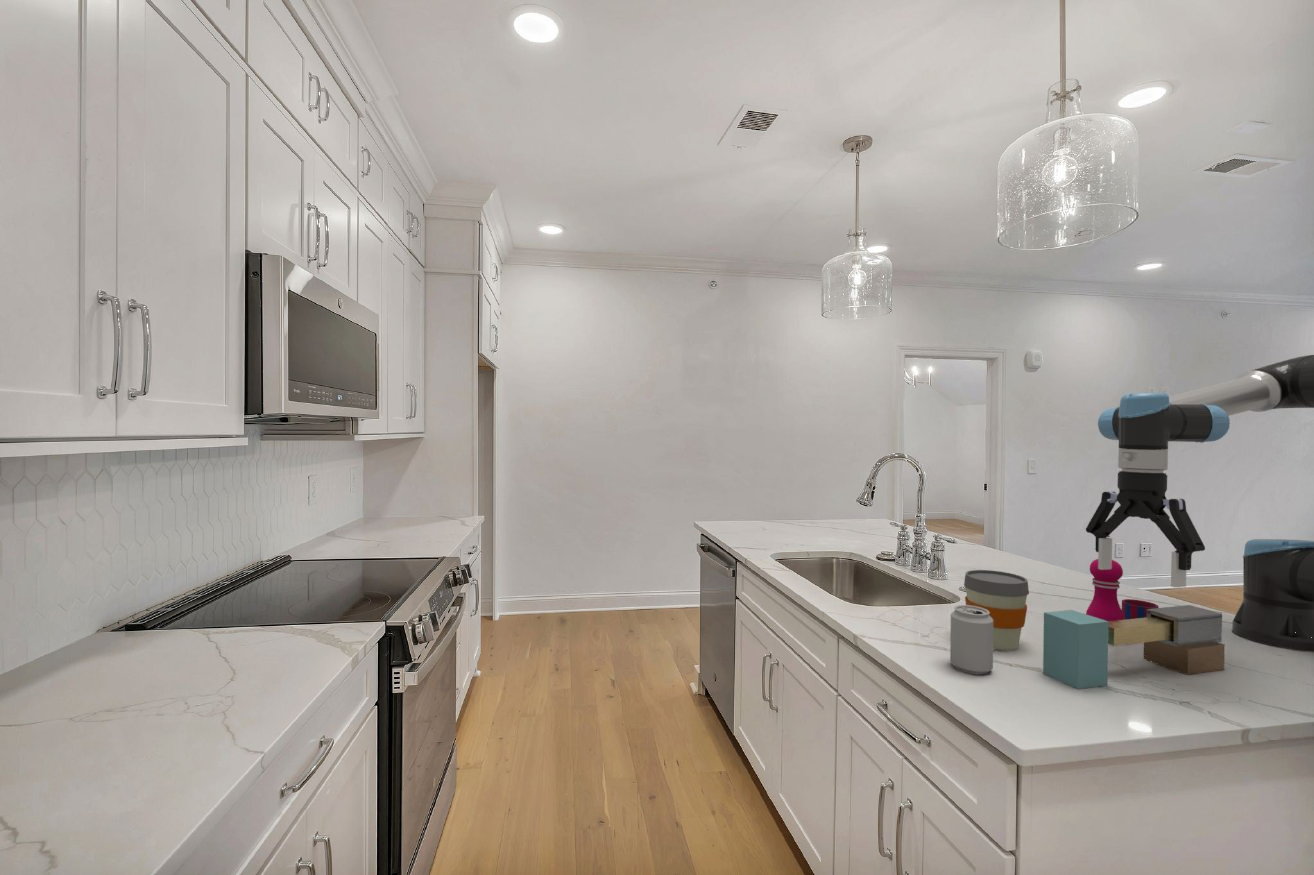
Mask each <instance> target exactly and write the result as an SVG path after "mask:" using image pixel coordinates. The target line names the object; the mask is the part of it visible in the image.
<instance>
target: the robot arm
mask: <svg viewBox="0 0 1314 875" xmlns="http://www.w3.org/2000/svg"><path fill="white" fill-rule="evenodd" d="M1278 409H1314V354H1309V355H1303V356H1297V357H1294V358H1289V359H1286V360H1283V361H1278V362H1274V363H1273V364H1268V365H1265V366H1262V367H1257V368H1255V369H1251V370H1248V371H1247V370H1246V371H1244V372H1242V373H1240V374H1239V375H1237V376H1236V377H1235V379H1231V380H1230V379H1229V380H1228V381H1223V382H1220V383H1219V382H1218V383H1215V384H1211V385H1207V386H1204V387H1199V388H1197V389H1192V390H1188V391H1186V392H1185V391H1184V392H1181V393H1177V394H1173V395H1170V396H1169V395H1168V394H1167V393H1162V392H1139V393H1128V394H1124V395H1122V396H1121V398H1120V402H1119V406H1117V407H1109V408H1106V409H1105V410H1104V411H1102V412H1101V413H1100V414H1099V417H1098V420H1097V426H1098V427H1097V428H1098V431H1099V433H1100V434H1101V435H1102V437H1104V438H1106V439H1109V440H1112V441H1113V440H1114V441H1118V456H1117V457H1118V458H1117V459H1118V460H1117V467H1118V468H1119V469H1121V470H1119V471H1118V472H1117V486H1116V487H1117V488H1118V493H1117V492H1116V491H1103V492H1102V493H1101V498H1100V499H1101V500H1100V503H1099V505H1098V507H1097V508H1096V510H1095V512H1094V514H1093V515H1092V517H1091V518H1090V520H1089V522H1088V524H1087V526H1086V528H1085V531H1086V532H1087V533H1088V534H1092V535H1093V536H1094V537H1095V545H1094V546H1095V548H1094V549H1095V552H1096V553H1097V554H1098V557H1097V559H1098V569H1101V570H1106V569H1112V560H1113V538H1112V537H1111V535H1110V534H1112V533H1113V532H1114V531H1115V530H1116V529H1117V528H1118V527H1119V526H1120V525H1121V524H1122V523H1123V522H1124V521H1126V519H1128V518H1129V517H1131V518H1139V519H1146V520H1150V521H1151V522H1152V523H1154V524H1155V525H1156V526H1157V528H1158V529H1159V530H1160V531H1161V532H1162V534H1163V535H1164V536H1165V537H1166V539H1167V540H1168V541H1169V542H1170V544H1171V545H1172V546H1173V547H1174V549H1175V550H1174V551H1171V561H1170V562H1171V563H1170V564H1171V565H1170V566H1171V567H1170V569H1171V572H1170V587H1173V588H1183V587H1184V588H1185V587H1187V571H1190V570H1191V568H1192V555H1193V553H1194V552H1203V551H1205V550H1206V546H1205V545H1204V542H1203V541H1202V539H1201V537H1200V535H1199V533H1198V531H1197V529H1196V527H1195V525H1194V522H1193V521H1192V519H1191V517H1190V515H1189V513H1188V512H1187V507H1186V506H1187V505H1186V504H1187V503H1186V501H1185V499H1184V498H1170V499H1167V497H1166V492H1167V491H1168V475H1167V473H1165V472H1164V471H1167V470H1168V469H1169V467H1168V466H1169V465H1168V464H1169V442H1174V443H1175V442H1176V443H1177V442H1180V443H1181V442H1183V443H1185V442H1186V443H1189V442H1190V443H1202V444H1203V443H1207V442H1210V443H1211V442H1215V441H1218V440H1220V439H1222V438H1223V437H1225V435H1226V434H1227V433H1228V431H1229V429H1230V424H1231V423H1230V421H1231V420H1230V417H1229V416H1234V415H1236V414H1240V413H1245V412H1248V411H1250V412H1254V413H1255V412H1258V413H1260V412H1261V413H1262V412H1266V411H1270V410H1278ZM1117 502H1118V504H1119V506H1118V507H1117V508H1116V509H1115V510H1114V511H1113V512H1114V513H1113V514H1112V515H1111V516H1110V514H1111V512H1112V510H1113V509H1114V507H1115V505H1116V503H1117ZM1165 508H1166V509H1168V511H1169V513H1170V515H1171V518H1172V519H1173V521H1174V522H1172V521H1171V518H1170V515H1169V514H1168V513H1167V512H1166V511H1165ZM1109 516H1110V517H1109ZM1108 517H1109V518H1108ZM1174 523H1175V524H1174ZM1242 559H1243V563H1242V564H1243V570H1242V571H1243V573H1242V574H1243V577H1242V578H1243V594H1242V596H1243V599H1242V602H1241V603H1240V606H1239V608H1238V610H1237V612H1236V614H1235V616H1234V618H1233V619H1232V623H1231V624H1232V626H1231V631H1232V632H1233V633H1234V634H1235V635H1237V636H1239V637H1242V638H1245V639H1246V640H1247V639H1248V640H1250V641H1254V642H1256V643H1257V642H1258V643H1262V644H1265V645H1269V646H1274V647H1279V648H1284V649H1290V650H1297V651H1307V652H1309V651H1310V652H1314V540H1304V539H1283V538H1282V539H1281V538H1280V539H1279V538H1278V539H1277V538H1276V539H1273V538H1272V539H1271V538H1259V539H1258V538H1256V539H1254V538H1253V539H1250V540H1248V541H1246V542H1245V544H1244V553H1243V555H1242ZM1295 632H1296V633H1295ZM1311 637H1312V638H1311Z"/></svg>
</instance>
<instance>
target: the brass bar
mask: <svg viewBox="0 0 1314 875" xmlns="http://www.w3.org/2000/svg"><path fill="white" fill-rule="evenodd" d="M1108 622H1109V624H1108V646H1109V645H1110V646H1112V647H1117V646H1119V647H1120V646H1126V645H1135V644H1144V642H1152V641H1161V640H1169V639H1174V621H1172V620H1169V619H1165V618H1162V617H1158V616H1156V617H1147V618H1137V619H1127V620H1118V621H1108Z"/></svg>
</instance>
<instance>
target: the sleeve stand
mask: <svg viewBox="0 0 1314 875" xmlns="http://www.w3.org/2000/svg"><path fill="white" fill-rule="evenodd" d="M1156 616H1158V617H1162V618H1165V619H1169V620H1172V621H1174V639H1169V640H1161V641H1152V642H1144V643H1143V660H1145V659H1146V660H1145V661H1148V662H1151V661H1152V663H1154V664H1156V663H1157V664H1156V665H1159V666H1162V667H1164V666H1165V668H1168V669H1171V670H1173V671H1176V672H1179V673H1182V674H1184V675H1188V676H1189V675H1190V676H1191V675H1197V674H1205V673H1211V672H1218V671H1225V644H1224V643H1222V638H1223V637H1222V636H1223V631H1222V630H1223V628H1222V627H1223V625H1222V624H1223V613H1221V612H1219V611H1218V612H1217V611H1213V610H1209V609H1207V608H1202V607H1198V606H1194V605H1189V604H1185V605H1177V606H1176V605H1175V606H1166V607H1159V608H1154V609H1147V615H1146V618H1147V617H1156Z"/></svg>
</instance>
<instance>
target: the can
mask: <svg viewBox="0 0 1314 875" xmlns="http://www.w3.org/2000/svg"><path fill="white" fill-rule="evenodd" d="M989 614H990V612H989V611H988V610H986V609H984V608H981V607H977V606H970V605H966V604H959V605H955V606H954V610H953V611H952V612H951V613H950V644H949V645H950V651H949V652H950V654H949V655H950V657H949V658H950V659H949V660H950V662H951V664H952V665H953V666H954V667H955V668H956V669H957V670H958V671H961V672H964V673H968V674H971V675H985V674H988V672H991V671H992V670H993V668H994V649H993V619H992V618H991V617H990V616H989Z"/></svg>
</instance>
